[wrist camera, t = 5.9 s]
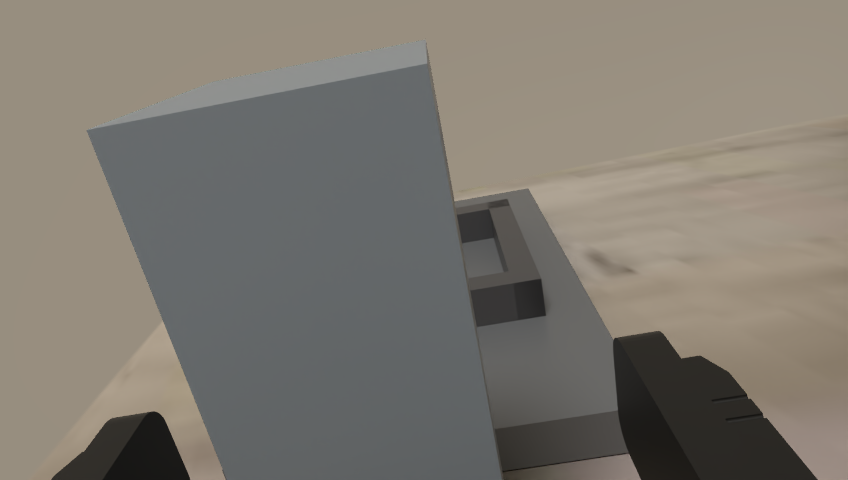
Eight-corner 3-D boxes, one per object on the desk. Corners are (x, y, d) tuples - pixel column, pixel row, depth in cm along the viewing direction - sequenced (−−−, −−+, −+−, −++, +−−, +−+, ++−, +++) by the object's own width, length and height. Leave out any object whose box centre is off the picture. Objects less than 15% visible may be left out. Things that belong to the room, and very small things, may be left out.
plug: (518, 565, 14) (425, 39, 10) (553, 767, 10) (428, 63, 6) (370, 584, 14) (213, 81, 10) (351, 790, 11) (86, 130, 6)
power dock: (531, 212, 35) (524, 163, 34) (652, 449, 17) (647, 358, 15) (333, 247, 36) (321, 200, 35) (238, 509, 17) (205, 428, 16)
